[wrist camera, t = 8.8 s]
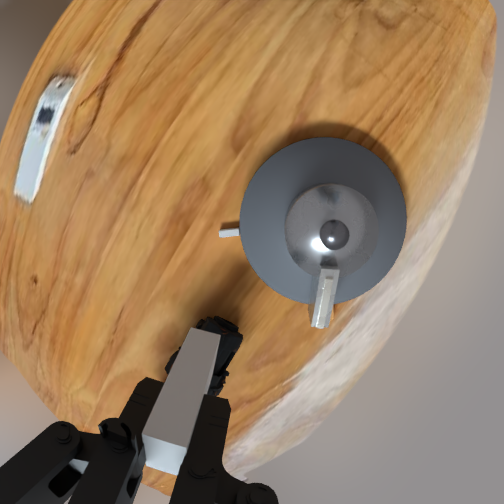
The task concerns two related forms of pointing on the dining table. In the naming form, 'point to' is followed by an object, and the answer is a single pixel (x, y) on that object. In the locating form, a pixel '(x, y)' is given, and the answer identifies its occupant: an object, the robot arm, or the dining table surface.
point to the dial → (329, 240)
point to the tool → (225, 352)
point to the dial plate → (295, 181)
